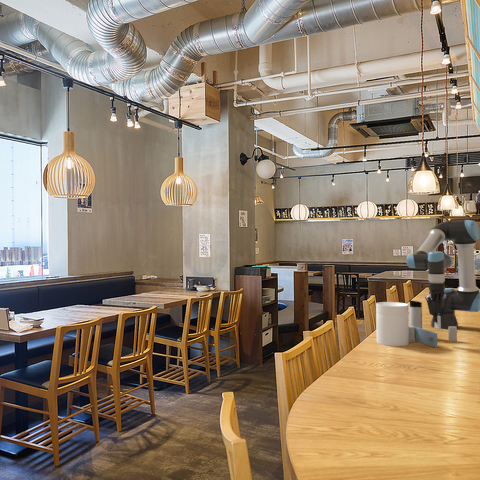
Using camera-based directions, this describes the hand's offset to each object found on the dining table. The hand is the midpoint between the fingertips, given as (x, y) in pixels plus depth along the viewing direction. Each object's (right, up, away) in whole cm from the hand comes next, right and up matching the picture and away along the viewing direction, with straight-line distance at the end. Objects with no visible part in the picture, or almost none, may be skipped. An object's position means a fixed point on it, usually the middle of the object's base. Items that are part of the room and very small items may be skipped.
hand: (437, 328), depth 225 cm
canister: (-21, -9, +6) cm, 23 cm away
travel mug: (-4, -9, +19) cm, 21 cm away
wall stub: (+11, -8, +7) cm, 16 cm away
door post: (-10, -8, +9) cm, 16 cm away
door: (-6, -8, +1) cm, 10 cm away
